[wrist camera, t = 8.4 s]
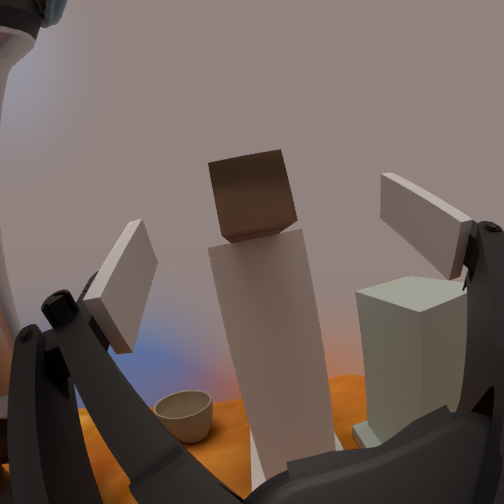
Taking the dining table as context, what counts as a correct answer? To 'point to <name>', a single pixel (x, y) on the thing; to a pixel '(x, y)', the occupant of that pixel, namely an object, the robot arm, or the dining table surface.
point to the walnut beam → (252, 196)
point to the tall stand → (275, 349)
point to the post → (410, 352)
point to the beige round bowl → (186, 414)
